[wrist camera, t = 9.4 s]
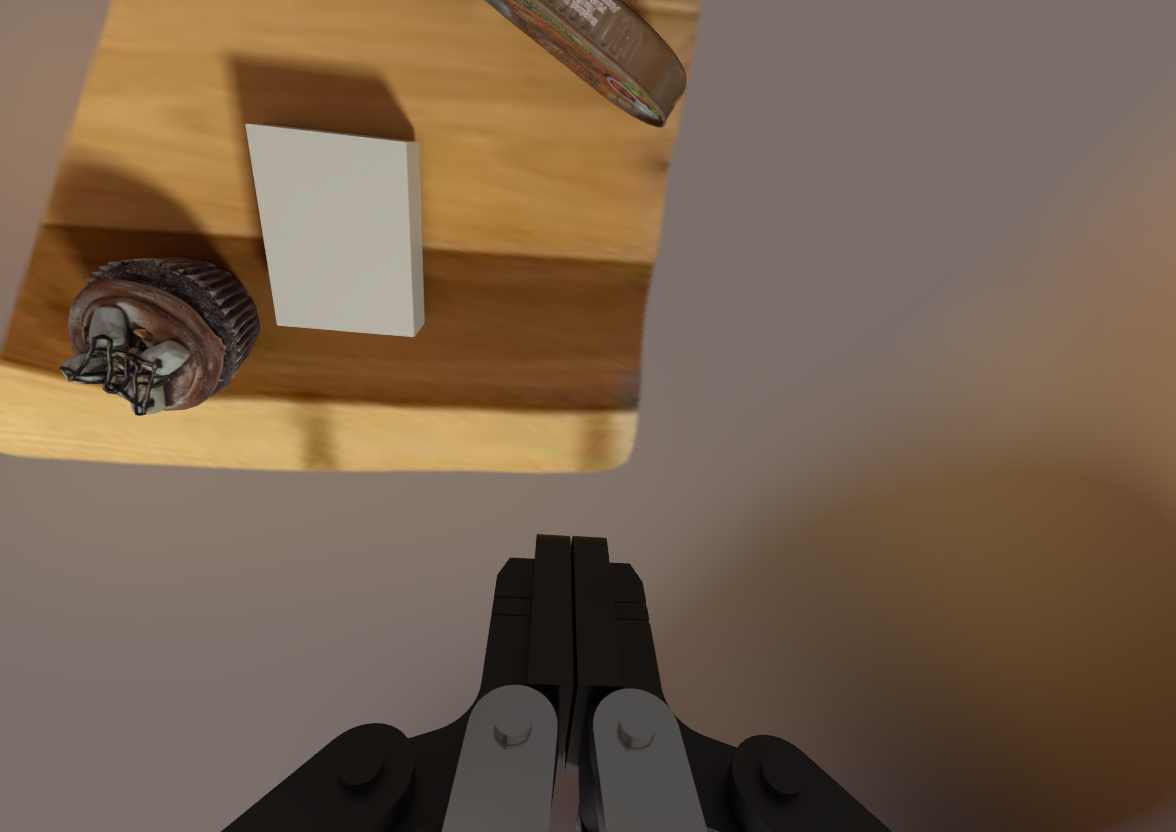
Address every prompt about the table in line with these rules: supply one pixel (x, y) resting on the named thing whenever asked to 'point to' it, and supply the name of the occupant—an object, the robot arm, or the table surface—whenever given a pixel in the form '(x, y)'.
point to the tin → (605, 51)
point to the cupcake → (160, 332)
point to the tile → (340, 228)
